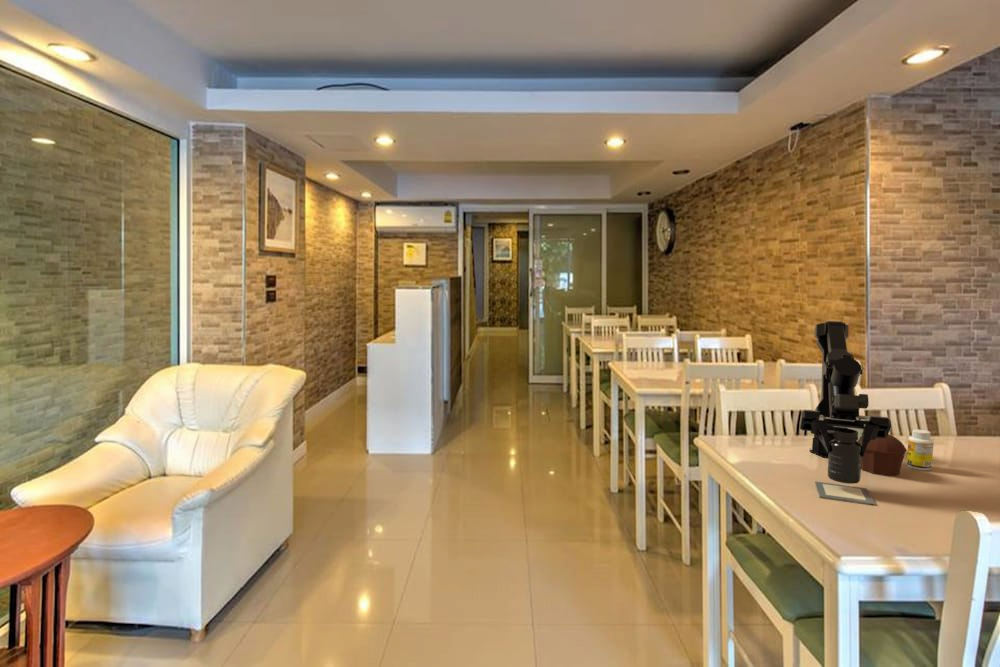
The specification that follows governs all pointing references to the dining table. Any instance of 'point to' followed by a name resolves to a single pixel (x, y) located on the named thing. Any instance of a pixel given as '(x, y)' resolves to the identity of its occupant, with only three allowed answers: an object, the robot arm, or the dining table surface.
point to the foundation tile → (844, 493)
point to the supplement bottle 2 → (920, 450)
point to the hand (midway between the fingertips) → (845, 454)
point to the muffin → (883, 456)
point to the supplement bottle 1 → (845, 457)
